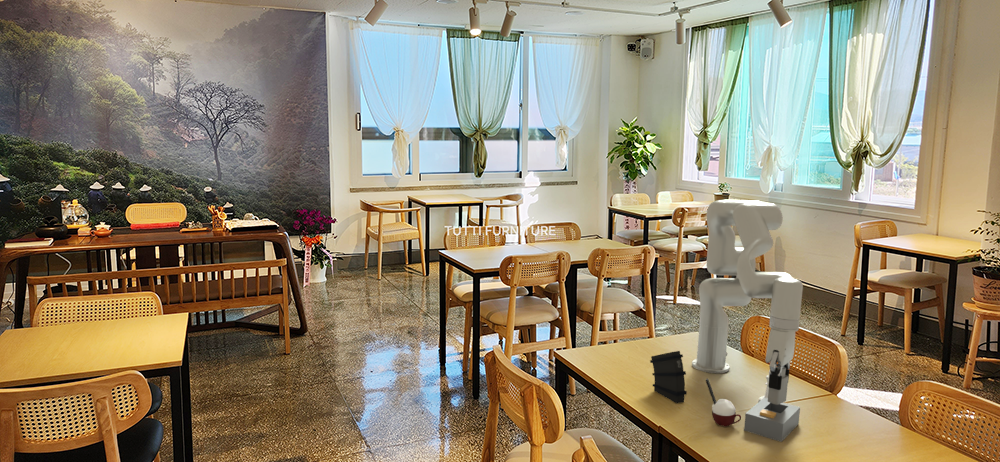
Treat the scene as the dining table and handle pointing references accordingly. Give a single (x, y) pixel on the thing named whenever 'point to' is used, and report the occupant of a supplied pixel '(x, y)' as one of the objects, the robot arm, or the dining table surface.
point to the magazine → (669, 376)
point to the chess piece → (766, 388)
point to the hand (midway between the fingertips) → (778, 384)
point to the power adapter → (781, 394)
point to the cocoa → (722, 410)
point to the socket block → (772, 419)
